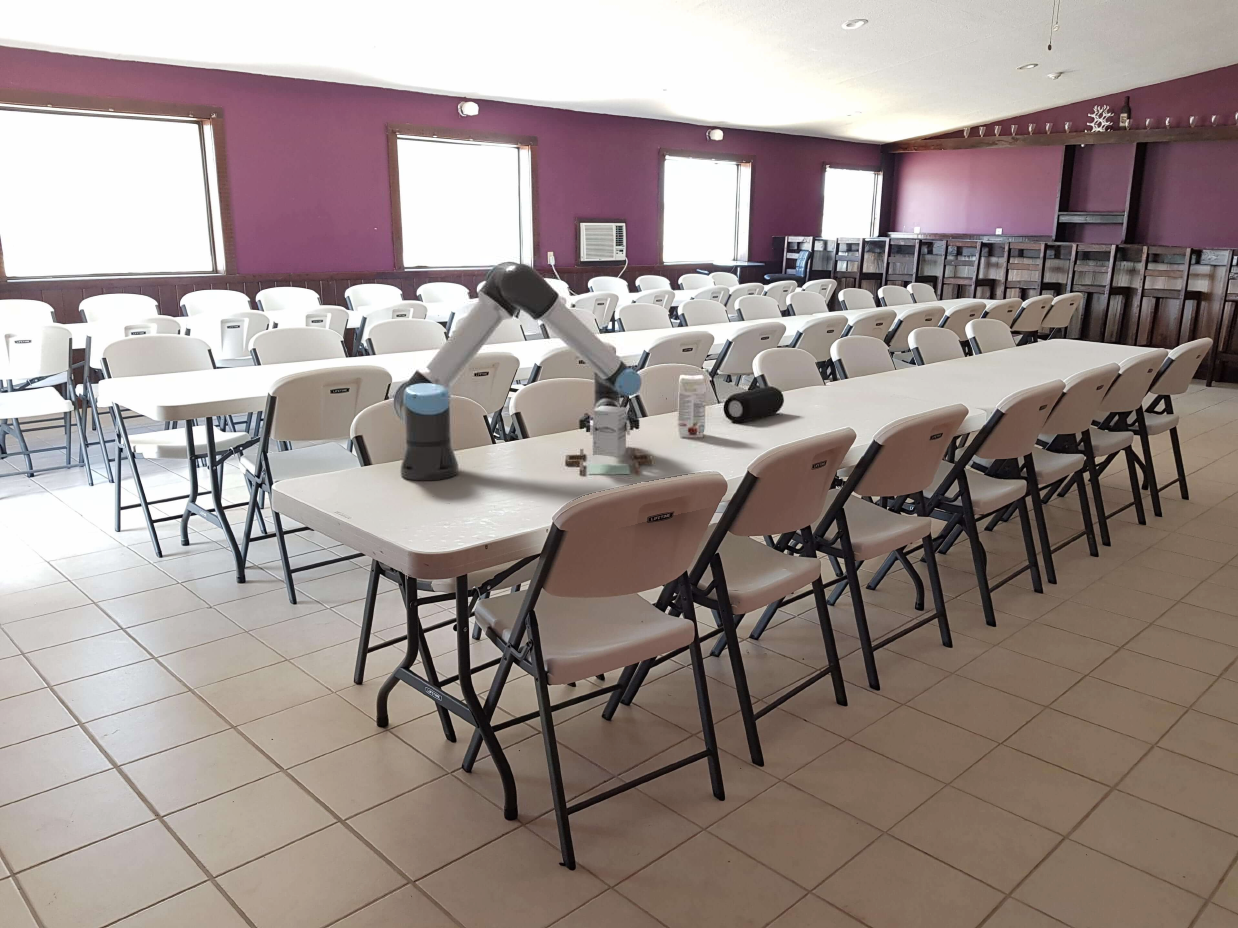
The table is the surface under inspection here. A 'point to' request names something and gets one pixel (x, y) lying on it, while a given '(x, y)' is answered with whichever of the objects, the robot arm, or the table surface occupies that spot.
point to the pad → (608, 469)
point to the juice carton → (691, 406)
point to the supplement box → (609, 431)
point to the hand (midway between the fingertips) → (610, 430)
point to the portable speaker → (753, 404)
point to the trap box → (638, 458)
